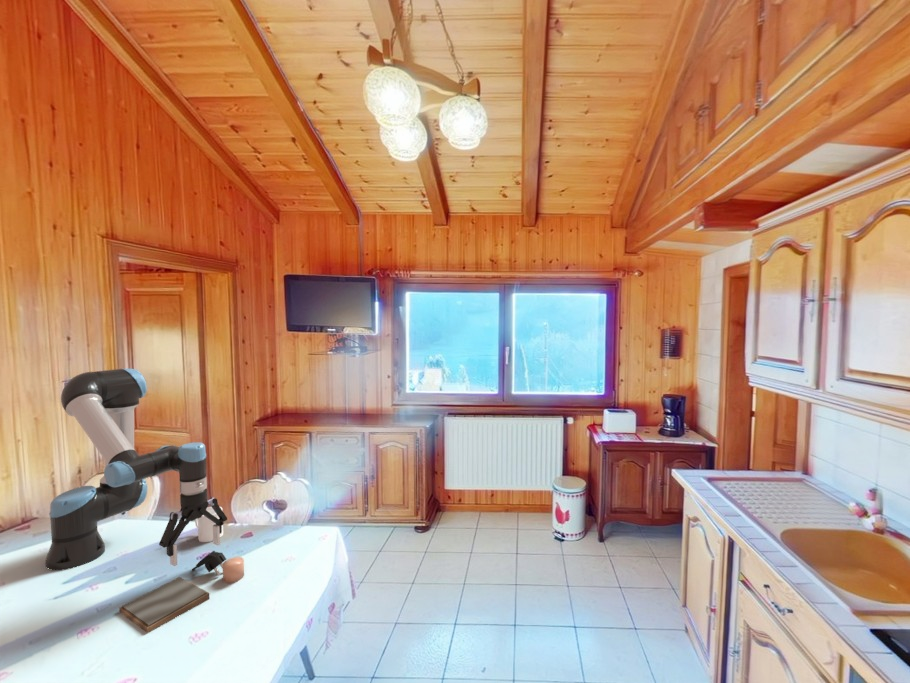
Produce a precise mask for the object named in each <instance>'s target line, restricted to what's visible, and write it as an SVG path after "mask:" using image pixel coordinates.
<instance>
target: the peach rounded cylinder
mask: <svg viewBox="0 0 910 683" xmlns="http://www.w3.org/2000/svg"><path fill="white" fill-rule="evenodd" d="M244 561H245V560H244V558H243V557H242V556H235V557H231V558H228V559H226V560H225V561H224V562H222V563H223V569H222V581H223V582H224V583H225V584H234V583H236V582H238V581H240V580H242V579H243V578H244V576H245V564H244V563H245V562H244Z"/></svg>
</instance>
